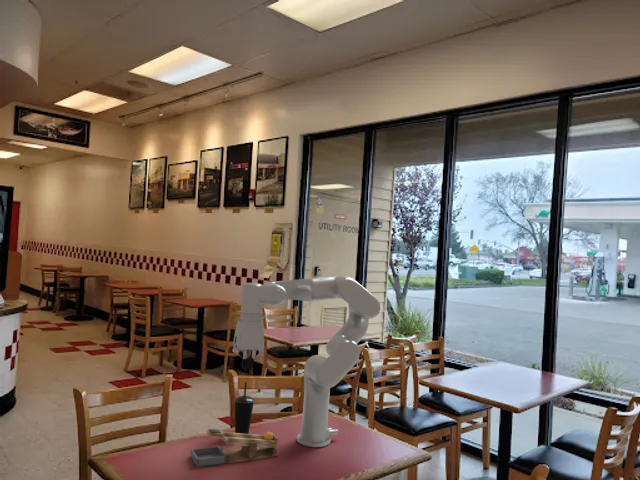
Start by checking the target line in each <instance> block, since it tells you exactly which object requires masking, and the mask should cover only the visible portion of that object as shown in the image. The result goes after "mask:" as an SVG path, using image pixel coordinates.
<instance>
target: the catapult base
mask: <svg viewBox="0 0 640 480" xmlns="http://www.w3.org/2000/svg"><path fill="white" fill-rule="evenodd" d="M222 451H223V452H224V453H225V455H226V464H232V463H234V464H235V463H240V462H241V463H242V462H248V461H255V460H262V459H269V458H270V459H271V458H278V457H279V454H278V448H268V447H257V442H250V446H241V448H236V449H230V450H228V449H227V450H222Z"/></svg>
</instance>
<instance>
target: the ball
mask: <svg viewBox="0 0 640 480" xmlns="http://www.w3.org/2000/svg"><path fill="white" fill-rule="evenodd" d="M272 433H273V432H272ZM272 433H271V431H267V432H265V433H264V434H263V435H264V439H265V440H272V439H273V434H274V433H273V434H272Z"/></svg>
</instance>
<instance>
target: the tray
mask: <svg viewBox="0 0 640 480" xmlns="http://www.w3.org/2000/svg"><path fill="white" fill-rule="evenodd" d="M223 451H224V450H223V449H222V448H221V447H220V446H219V445H218V446H217V445H216V446H209V447H201V448H192V449H190V458H191V460H192V462H193V463H194V466H195V467H196V469H198V468H205V467H211V466H220V465H226V464H227V463H226V455H225V453H224V452H223Z"/></svg>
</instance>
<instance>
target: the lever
mask: <svg viewBox="0 0 640 480" xmlns="http://www.w3.org/2000/svg"><path fill="white" fill-rule="evenodd" d="M270 432H271V431H270ZM271 433H272V434H273V439H272V440H265V439H264V435H265V434H254V433H253V434H251V433H249V434H242V433H235V432H229V431H228V432H225V431H223V430H220V429H214V428H209V429H207V430H206V434H207V435H208V436H209V437H221V439H222V440H223V442H224V443H225V444H226V445H227V446H239V447H240V446H241V447H242V446H250V442H257V447H268V448H277V447H278V442H279V437H278V436H277V435H275V433H273V432H271ZM277 449H278V448H277Z"/></svg>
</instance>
